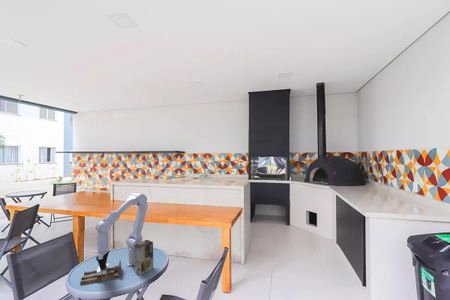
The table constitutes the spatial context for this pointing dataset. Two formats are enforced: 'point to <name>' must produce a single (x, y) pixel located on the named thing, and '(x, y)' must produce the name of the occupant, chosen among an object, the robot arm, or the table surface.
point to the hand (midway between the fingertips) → (103, 266)
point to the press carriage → (102, 270)
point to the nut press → (92, 277)
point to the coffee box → (143, 257)
